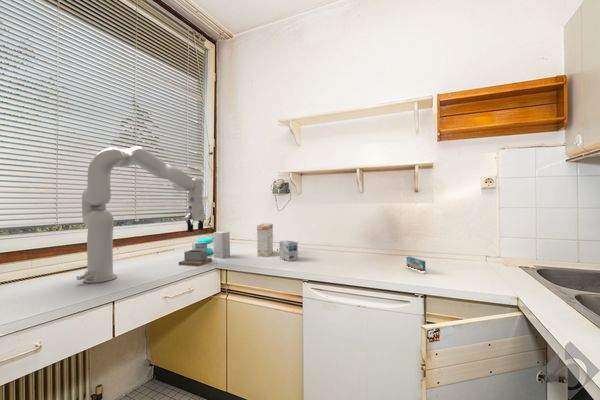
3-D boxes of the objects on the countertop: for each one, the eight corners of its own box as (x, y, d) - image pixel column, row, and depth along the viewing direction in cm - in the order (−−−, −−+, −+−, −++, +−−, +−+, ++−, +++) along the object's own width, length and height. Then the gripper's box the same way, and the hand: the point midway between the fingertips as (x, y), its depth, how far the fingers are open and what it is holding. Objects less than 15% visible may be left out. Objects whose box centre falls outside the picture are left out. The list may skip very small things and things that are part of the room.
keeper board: (197, 266, 157) (197, 256, 157) (178, 264, 160) (178, 254, 160) (212, 260, 171) (212, 251, 171) (194, 259, 174) (193, 250, 174)
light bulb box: (298, 260, 172) (298, 242, 172) (288, 261, 168) (288, 243, 168) (288, 257, 181) (288, 239, 181) (279, 258, 177) (279, 240, 177)
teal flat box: (425, 273, 142) (425, 261, 142) (422, 274, 142) (422, 261, 142) (409, 268, 154) (409, 256, 154) (406, 268, 153) (406, 256, 153)
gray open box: (200, 261, 161) (200, 252, 161) (184, 260, 164) (184, 251, 164) (206, 259, 167) (206, 250, 167) (191, 258, 170) (191, 249, 170)
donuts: (213, 239, 189) (196, 239, 186) (213, 254, 189) (196, 255, 186) (212, 237, 198) (197, 237, 195) (212, 251, 198) (197, 252, 196)
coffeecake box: (263, 252, 198) (263, 223, 198) (273, 252, 197) (273, 223, 197) (256, 256, 183) (256, 225, 183) (267, 256, 182) (267, 225, 182)
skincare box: (230, 256, 182) (230, 231, 182) (222, 258, 176) (222, 232, 176) (221, 255, 186) (220, 231, 186) (212, 257, 181) (212, 232, 181)
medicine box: (195, 258, 179) (194, 243, 179) (192, 256, 182) (192, 242, 182) (207, 256, 184) (207, 242, 184) (204, 255, 187) (204, 241, 187)
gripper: (192, 200, 156) (192, 232, 156) (210, 200, 173) (209, 229, 173) (180, 200, 158) (180, 232, 158) (198, 200, 174) (198, 229, 175)
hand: (195, 230), depth 165 cm, fingers open, 9 cm apart
